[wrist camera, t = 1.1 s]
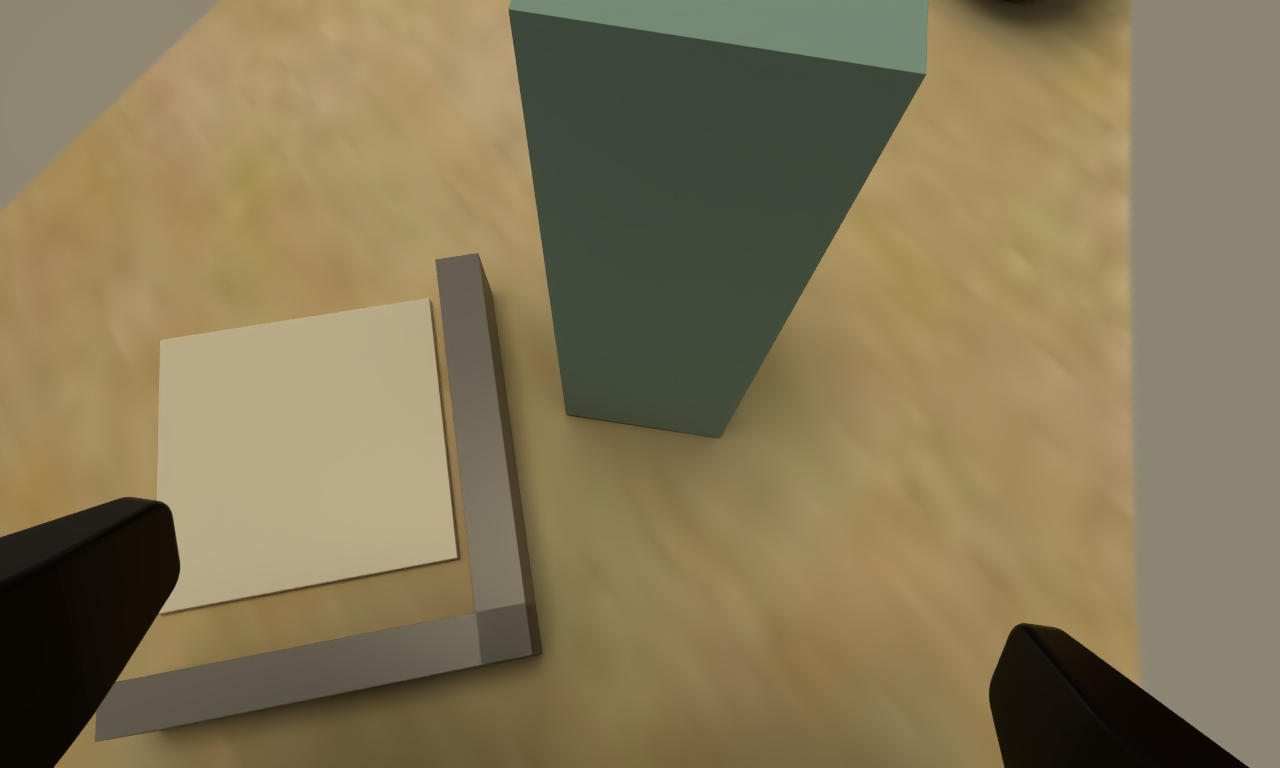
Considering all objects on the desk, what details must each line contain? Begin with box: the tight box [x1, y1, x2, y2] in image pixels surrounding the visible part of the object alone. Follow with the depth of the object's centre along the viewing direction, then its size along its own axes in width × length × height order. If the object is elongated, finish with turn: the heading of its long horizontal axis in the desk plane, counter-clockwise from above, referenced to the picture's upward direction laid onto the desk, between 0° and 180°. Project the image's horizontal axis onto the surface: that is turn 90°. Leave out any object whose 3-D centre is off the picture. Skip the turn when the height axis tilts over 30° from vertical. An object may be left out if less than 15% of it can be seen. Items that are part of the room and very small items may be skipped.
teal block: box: [509, 0, 928, 438], centre depth 16 cm, size 5×5×15 cm
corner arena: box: [95, 253, 542, 742], centre depth 20 cm, size 11×10×2 cm
